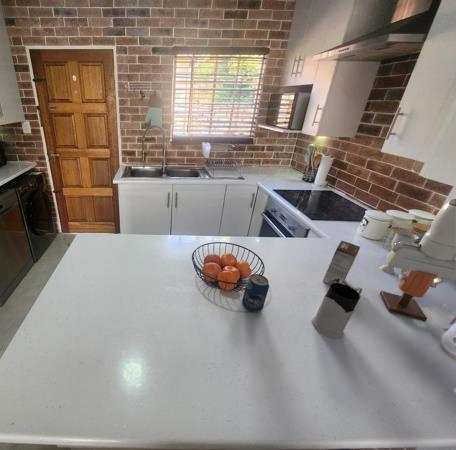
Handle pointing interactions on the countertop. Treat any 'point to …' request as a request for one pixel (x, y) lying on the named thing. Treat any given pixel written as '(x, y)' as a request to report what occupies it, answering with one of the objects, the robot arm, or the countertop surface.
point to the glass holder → (336, 309)
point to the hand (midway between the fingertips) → (416, 282)
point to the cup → (417, 283)
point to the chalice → (399, 237)
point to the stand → (402, 305)
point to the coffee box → (341, 263)
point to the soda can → (255, 293)
